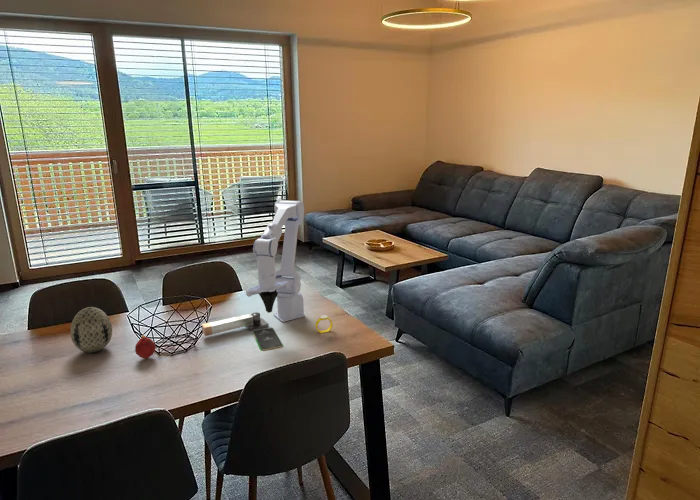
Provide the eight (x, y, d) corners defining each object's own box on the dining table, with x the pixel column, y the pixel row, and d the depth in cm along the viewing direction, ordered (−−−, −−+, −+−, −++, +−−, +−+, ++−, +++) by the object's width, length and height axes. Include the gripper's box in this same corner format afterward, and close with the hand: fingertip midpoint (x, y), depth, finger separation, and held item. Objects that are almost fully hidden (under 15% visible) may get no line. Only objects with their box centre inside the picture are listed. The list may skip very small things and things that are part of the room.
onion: (160, 355, 150) (157, 332, 147) (147, 364, 144) (144, 341, 142) (145, 352, 151) (142, 330, 149) (132, 361, 146) (129, 338, 144)
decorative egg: (96, 339, 160) (89, 299, 156) (123, 345, 157) (116, 303, 152) (65, 356, 150) (57, 312, 146) (94, 362, 146) (86, 317, 142)
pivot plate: (262, 320, 175) (261, 318, 174) (268, 326, 170) (268, 323, 170) (244, 325, 171) (243, 322, 171) (250, 331, 166) (250, 328, 166)
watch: (317, 335, 163) (316, 320, 161) (315, 332, 166) (313, 317, 164) (334, 331, 165) (332, 316, 164) (331, 328, 168) (329, 313, 166)
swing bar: (261, 322, 169) (261, 314, 169) (205, 336, 159) (204, 327, 159) (258, 319, 172) (258, 311, 171) (202, 332, 162) (201, 324, 161)
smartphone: (260, 349, 152) (251, 330, 165) (261, 352, 152) (252, 333, 166) (283, 345, 155) (272, 326, 168) (283, 347, 155) (273, 329, 168)
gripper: (250, 281, 149) (253, 320, 153) (291, 272, 156) (293, 310, 160) (242, 275, 154) (245, 313, 158) (282, 267, 162) (284, 303, 166)
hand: (269, 311), depth 160 cm, fingers closed
